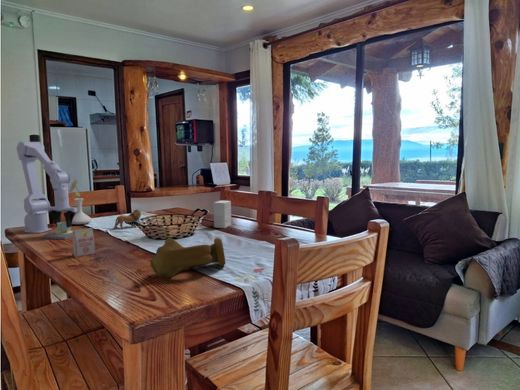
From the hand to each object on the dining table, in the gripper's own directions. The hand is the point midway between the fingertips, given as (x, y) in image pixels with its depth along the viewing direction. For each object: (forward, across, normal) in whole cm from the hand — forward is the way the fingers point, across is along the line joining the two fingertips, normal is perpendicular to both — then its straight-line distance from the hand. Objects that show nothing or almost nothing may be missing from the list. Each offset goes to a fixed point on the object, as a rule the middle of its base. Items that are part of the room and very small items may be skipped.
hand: (63, 226), depth 169 cm
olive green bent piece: (+5, -79, +34) cm, 86 cm away
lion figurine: (+4, -20, -22) cm, 30 cm away
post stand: (+4, 0, 0) cm, 4 cm away
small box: (+4, -67, -34) cm, 75 cm away
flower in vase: (+4, +11, -24) cm, 27 cm away
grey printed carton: (+4, -31, +25) cm, 40 cm away
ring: (+1, 0, 0) cm, 1 cm away
